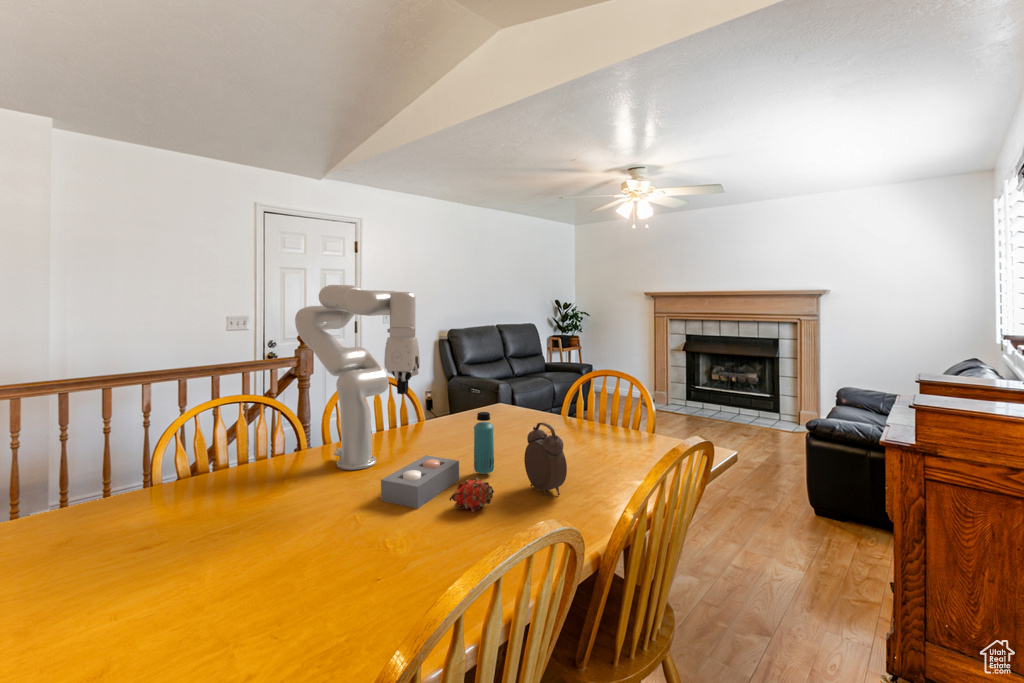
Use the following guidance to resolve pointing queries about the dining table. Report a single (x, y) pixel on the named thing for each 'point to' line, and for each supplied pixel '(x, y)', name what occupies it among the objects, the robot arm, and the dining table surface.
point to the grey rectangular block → (419, 482)
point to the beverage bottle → (483, 444)
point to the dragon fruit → (472, 494)
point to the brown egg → (431, 463)
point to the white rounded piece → (412, 475)
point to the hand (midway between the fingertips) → (402, 393)
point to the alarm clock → (545, 460)
